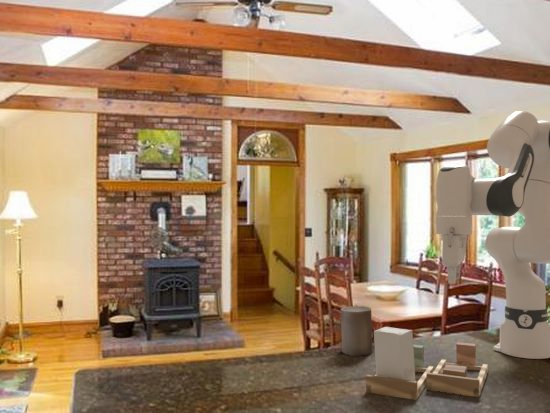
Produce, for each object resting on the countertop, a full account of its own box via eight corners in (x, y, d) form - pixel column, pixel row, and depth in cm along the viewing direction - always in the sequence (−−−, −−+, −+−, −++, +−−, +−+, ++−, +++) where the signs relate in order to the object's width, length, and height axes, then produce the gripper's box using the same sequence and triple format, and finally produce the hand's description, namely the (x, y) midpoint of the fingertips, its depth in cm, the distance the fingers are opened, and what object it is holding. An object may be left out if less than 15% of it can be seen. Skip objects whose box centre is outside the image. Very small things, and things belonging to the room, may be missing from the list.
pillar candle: (377, 350, 170) (376, 303, 170) (365, 357, 161) (364, 308, 162) (349, 347, 175) (348, 301, 175) (336, 353, 167) (335, 305, 167)
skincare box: (416, 390, 132) (415, 330, 132) (402, 396, 128) (401, 334, 128) (387, 382, 138) (387, 325, 138) (373, 387, 134) (373, 328, 134)
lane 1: (394, 363, 155) (393, 342, 155) (437, 368, 149) (436, 347, 150) (366, 392, 131) (365, 367, 131) (416, 399, 125) (416, 374, 125)
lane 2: (444, 361, 156) (444, 341, 156) (489, 366, 151) (489, 345, 151) (426, 389, 132) (426, 365, 132) (479, 397, 126) (478, 371, 127)
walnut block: (446, 383, 137) (446, 364, 137) (467, 386, 135) (466, 366, 135) (443, 389, 133) (443, 369, 133) (464, 392, 130) (464, 372, 130)
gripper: (463, 228, 126) (463, 286, 126) (469, 227, 145) (469, 278, 145) (435, 228, 129) (435, 285, 129) (445, 226, 148) (445, 276, 147)
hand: (453, 281), depth 137 cm, fingers open, 8 cm apart
